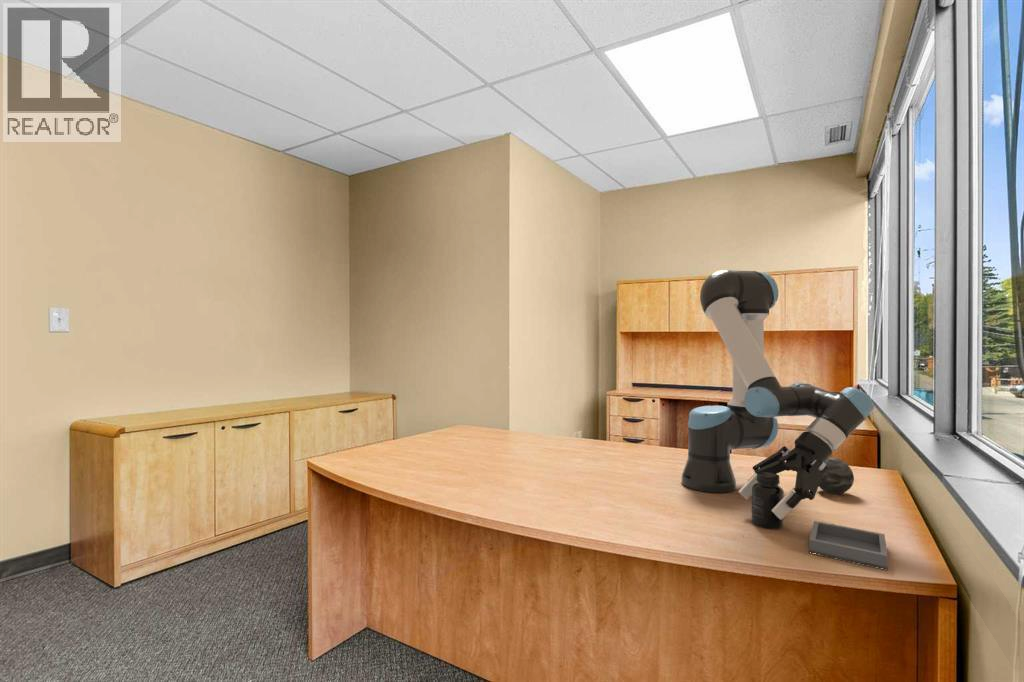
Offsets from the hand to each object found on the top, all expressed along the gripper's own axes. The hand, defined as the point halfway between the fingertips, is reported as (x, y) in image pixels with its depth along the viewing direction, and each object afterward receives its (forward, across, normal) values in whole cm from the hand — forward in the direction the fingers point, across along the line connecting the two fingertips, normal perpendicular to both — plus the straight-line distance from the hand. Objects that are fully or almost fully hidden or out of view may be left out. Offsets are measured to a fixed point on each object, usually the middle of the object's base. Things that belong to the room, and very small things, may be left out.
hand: (758, 505), depth 119 cm
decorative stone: (-22, +21, -29) cm, 42 cm away
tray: (-4, -15, -11) cm, 19 cm away
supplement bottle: (+2, 0, -5) cm, 5 cm away
